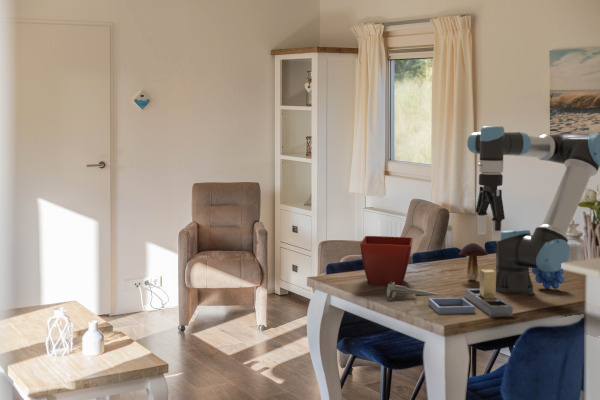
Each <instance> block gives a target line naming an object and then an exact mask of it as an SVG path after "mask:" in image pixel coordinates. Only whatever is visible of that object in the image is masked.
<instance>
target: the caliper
mask: <svg viewBox="0 0 600 400" xmlns="http://www.w3.org/2000/svg"><path fill="white" fill-rule="evenodd" d="M394 284H395V282H393V283H392V282H390V284H388V286H386V297H387V299H389V298H390V294H391V292H392V294H391V299H395V297H396V295H397V293H399V294H401V295H407V294H413V295H419V296H436V295H437V296H439V295H441V294H440V293H436V292H432V291H425V290H420V289H413V288H408V286H405V285H402V286H399V285H395V286H394Z"/></svg>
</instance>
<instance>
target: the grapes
mask: <svg viewBox="0 0 600 400" xmlns="http://www.w3.org/2000/svg"><path fill="white" fill-rule="evenodd" d="M531 272H532V273H533V275H535V278H534V279H535V282H536V283H538V284H542V286H543V288H544V289H548V290H549V289H551V288H552V289H555V290H556V289H559V287H560V284H561V285H562V284H563V283H564V282H565V279H564V277H563V276H562V275H564V274H565V273H564V269H563V268H562V269H560V270H557V271H555V272H550V271H542V270H539V269H534V268H531Z"/></svg>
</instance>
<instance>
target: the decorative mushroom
mask: <svg viewBox="0 0 600 400" xmlns="http://www.w3.org/2000/svg"><path fill="white" fill-rule="evenodd" d="M459 251H460V252H459V254H458V255H460V256H464V257H468V263H467V270H466V276H467V279H468V281H476V280H478V277H479V270H478V269H479V268H478V267H479V266H478V264H479V263H478V257H484V256H487V255H488V252H487V249H485V248H484V247H482V246H481V245H479V244H477V243H475V242H474V243H473V242H472V243H468V244H467V245H464V247H463V248H461V250H459Z"/></svg>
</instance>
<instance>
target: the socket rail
mask: <svg viewBox="0 0 600 400" xmlns="http://www.w3.org/2000/svg"><path fill="white" fill-rule="evenodd" d="M464 299H465V300H467V301H468V302H469V303H471V304H472V305H473V306H476V307H477V308H478V309H480V310H481V311H483V313H485V314H487V316H489V317H492V318H495V317H496V318H497V317H498V318H499V317H500V318H501V317H513V309H514V308H513V306H512V305H510V304H509V303H508V302H506V301H504V300H503V299H501V298H500V297H498V296H497V295H496V296H495V299H481V298H480V287H479V288H464Z"/></svg>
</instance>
